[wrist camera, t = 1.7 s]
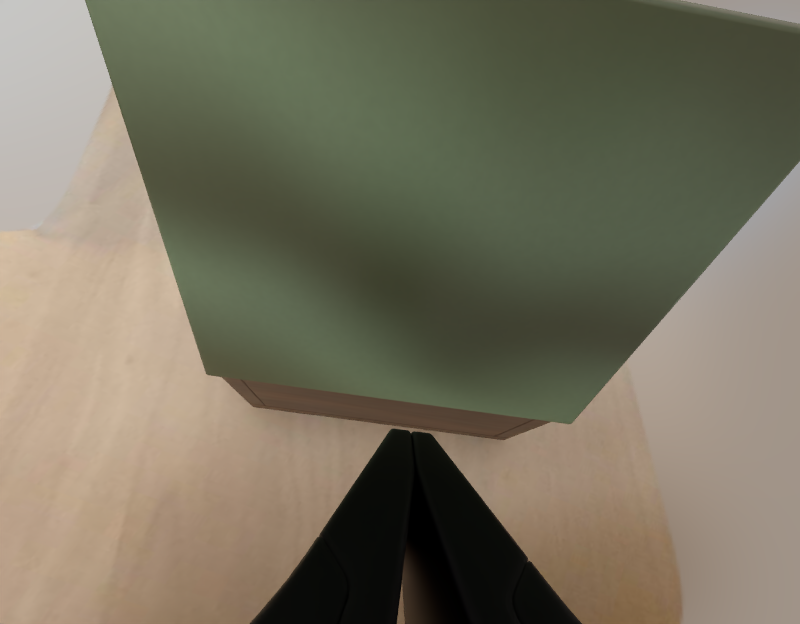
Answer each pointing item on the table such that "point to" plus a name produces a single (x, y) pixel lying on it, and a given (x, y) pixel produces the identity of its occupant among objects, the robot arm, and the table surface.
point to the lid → (447, 181)
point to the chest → (381, 410)
